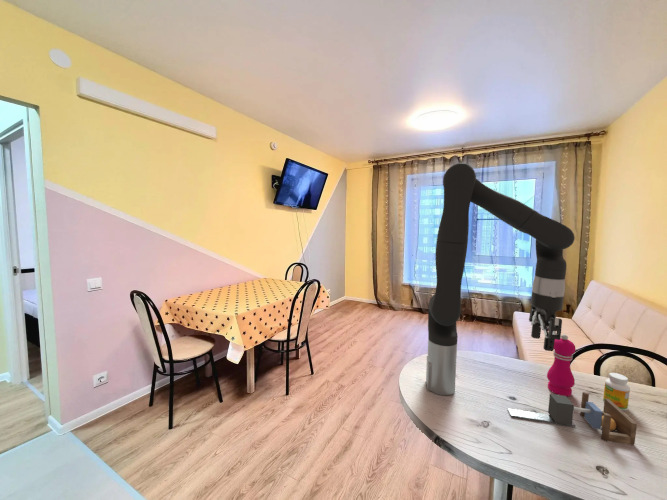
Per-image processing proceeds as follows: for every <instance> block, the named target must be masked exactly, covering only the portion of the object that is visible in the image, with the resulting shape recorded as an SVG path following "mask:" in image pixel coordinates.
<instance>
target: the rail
mask: <svg viewBox="0 0 667 500" xmlns="http://www.w3.org/2000/svg"><path fill="white" fill-rule="evenodd" d="M507 412H508V414H509V416H510V418H515V419H522V420H526V421H527V420H528V421H534V422H541V423H547V424H551V425H559V426H565V427H572V428H576V427H577V426H576V425H577V424H575V422H574V421H573V420H572V425H569V424H563V423H557V422H555V421H554V420H553V419H552V417H551V416H550V414H549V413H548V414H547V413H540V412H534V411H527V410H522V409H513V408H507Z"/></svg>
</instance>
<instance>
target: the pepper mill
mask: <svg viewBox="0 0 667 500" xmlns="http://www.w3.org/2000/svg"><path fill="white" fill-rule="evenodd" d="M576 350H577V349H576V345H575V343H573V342H572V341H571V340H570V339H569V336H568V335H567V334H561V338H560V340H557V339H555V342H554V350H553V351H552V352H553V353H552V354H553V357H554V360H553V363H552V365H551V366H550V368H549V369H548V371H547V373H546V378H547V380H548V382H547V388H548V390H549V391H550V392H552V394H555V395H562V396H566V397H567V398H568V397H571V396H572V395H573V394H572V393H573V389H572V388H573V387H574V386H575V376H574V374H573V373H572V369H571V361H572V360H573V357H574V355H573V354H575V352H576Z"/></svg>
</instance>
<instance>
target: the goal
mask: <svg viewBox="0 0 667 500" xmlns="http://www.w3.org/2000/svg"><path fill="white" fill-rule="evenodd" d="M581 393H582V394H581V404H580V408H584V409H585V407H586V401H587V402H589V397H590V394H589V393H588V392H584V391H582V392H581ZM601 411H602V412H603V413H602V416H604V417H603V425H602V426H601V435H600V439H601V440H603V441H604V442H611V443H618V444H625V445H631V446H635V444H636V443H635V442H636V435H637V427H638V423H637V422H636V421H634V419H632V418H631V417H630V416H629V415H628V414H626V413H625V412H624V410H621V409H620V408H618V407H617V406H616V405H615V404H614V403H613V402H612V401H611V400H609V399H605V401H603V410H601ZM579 414H580V416H581V417H583V418H584V416H585V412H579ZM611 418H612V419H613V420H614V421H615V423H616V429H615V430H614V431H615V432H614V431H610V424H611Z"/></svg>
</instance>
